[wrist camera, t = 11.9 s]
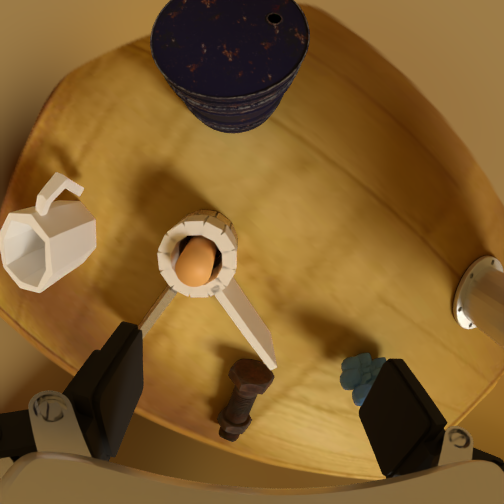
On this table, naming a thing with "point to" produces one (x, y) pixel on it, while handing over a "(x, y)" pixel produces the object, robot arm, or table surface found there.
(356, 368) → the grapes
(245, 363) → the bolt
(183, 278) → the hinge pin
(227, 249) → the hinge leaf cream
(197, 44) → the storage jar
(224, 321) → the table surface
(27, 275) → the mug
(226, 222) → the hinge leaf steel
